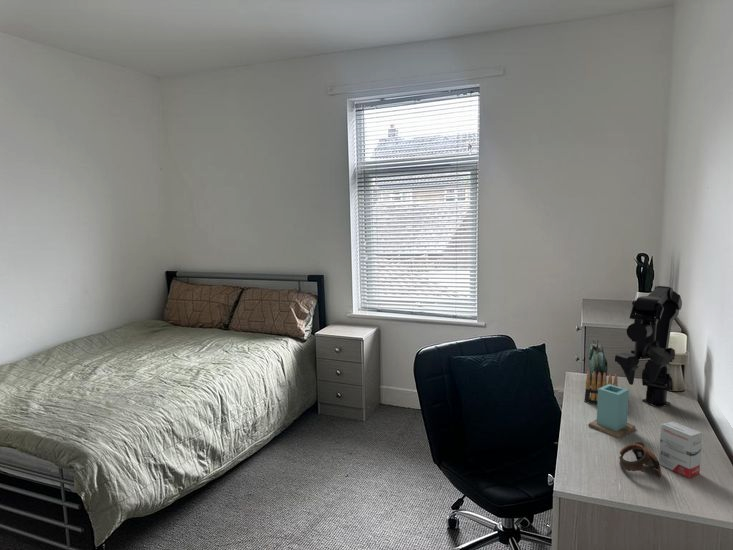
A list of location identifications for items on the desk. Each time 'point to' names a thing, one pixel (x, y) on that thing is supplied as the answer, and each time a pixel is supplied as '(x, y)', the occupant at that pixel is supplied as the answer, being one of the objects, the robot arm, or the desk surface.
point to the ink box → (680, 449)
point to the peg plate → (610, 431)
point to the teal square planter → (612, 407)
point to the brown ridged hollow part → (639, 458)
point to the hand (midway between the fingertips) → (641, 383)
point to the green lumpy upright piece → (597, 361)
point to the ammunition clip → (596, 386)
